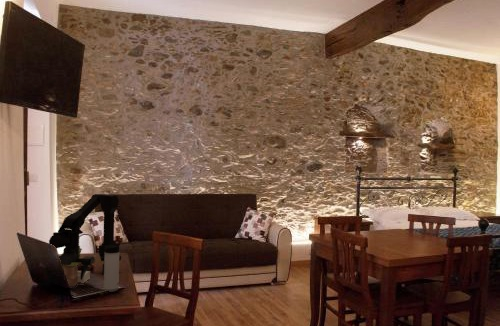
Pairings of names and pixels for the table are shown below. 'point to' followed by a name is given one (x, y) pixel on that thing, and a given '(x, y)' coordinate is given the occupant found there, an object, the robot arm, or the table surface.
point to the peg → (71, 275)
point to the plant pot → (74, 262)
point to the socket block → (85, 278)
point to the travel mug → (111, 267)
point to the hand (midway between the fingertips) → (71, 279)
